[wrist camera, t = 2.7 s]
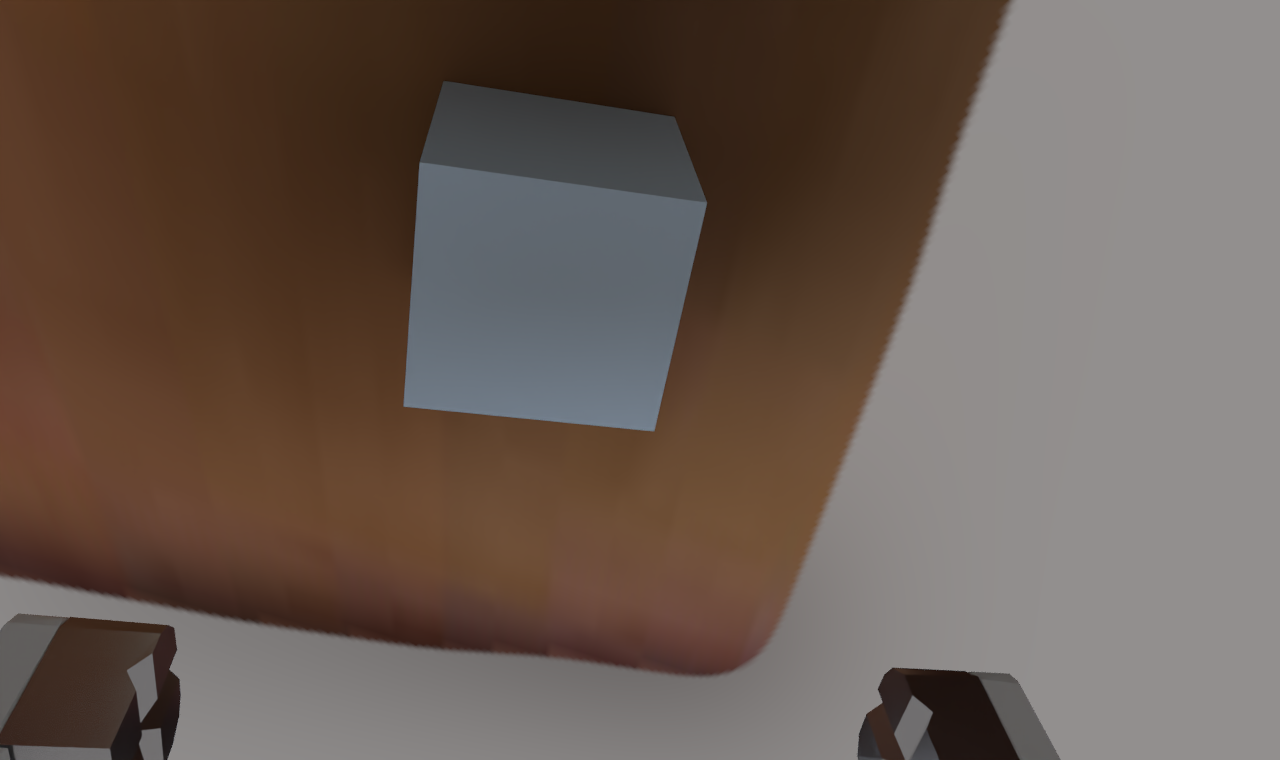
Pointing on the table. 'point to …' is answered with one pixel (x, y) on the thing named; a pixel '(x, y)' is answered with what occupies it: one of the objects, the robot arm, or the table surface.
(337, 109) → the table surface
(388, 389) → the table surface
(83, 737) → the robot arm
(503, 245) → the slate brick
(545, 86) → the table surface
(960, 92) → the table surface
